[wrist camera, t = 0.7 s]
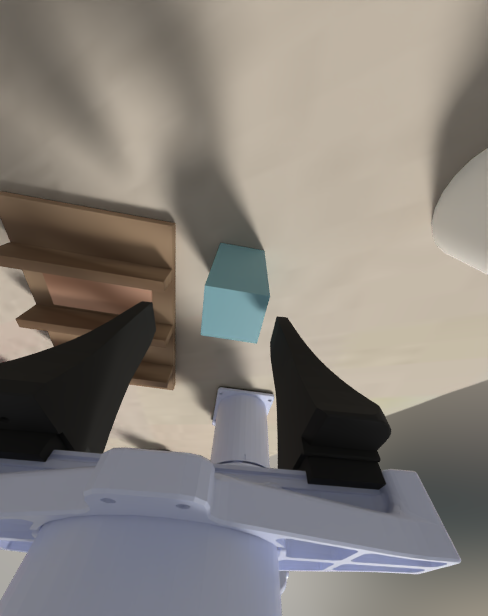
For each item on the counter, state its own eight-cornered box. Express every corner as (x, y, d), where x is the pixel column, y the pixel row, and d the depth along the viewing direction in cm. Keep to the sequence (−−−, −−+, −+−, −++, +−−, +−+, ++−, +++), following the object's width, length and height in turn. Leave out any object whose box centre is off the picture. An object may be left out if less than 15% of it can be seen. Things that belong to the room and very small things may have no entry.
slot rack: (175, 384, 32) (167, 407, 29) (71, 370, 31) (52, 392, 28) (175, 223, 19) (161, 235, 16) (2, 191, 18) (-45, 198, 15)
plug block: (255, 288, 23) (256, 343, 16) (216, 281, 22) (200, 335, 16) (264, 250, 20) (269, 296, 14) (220, 242, 20) (204, 285, 14)
